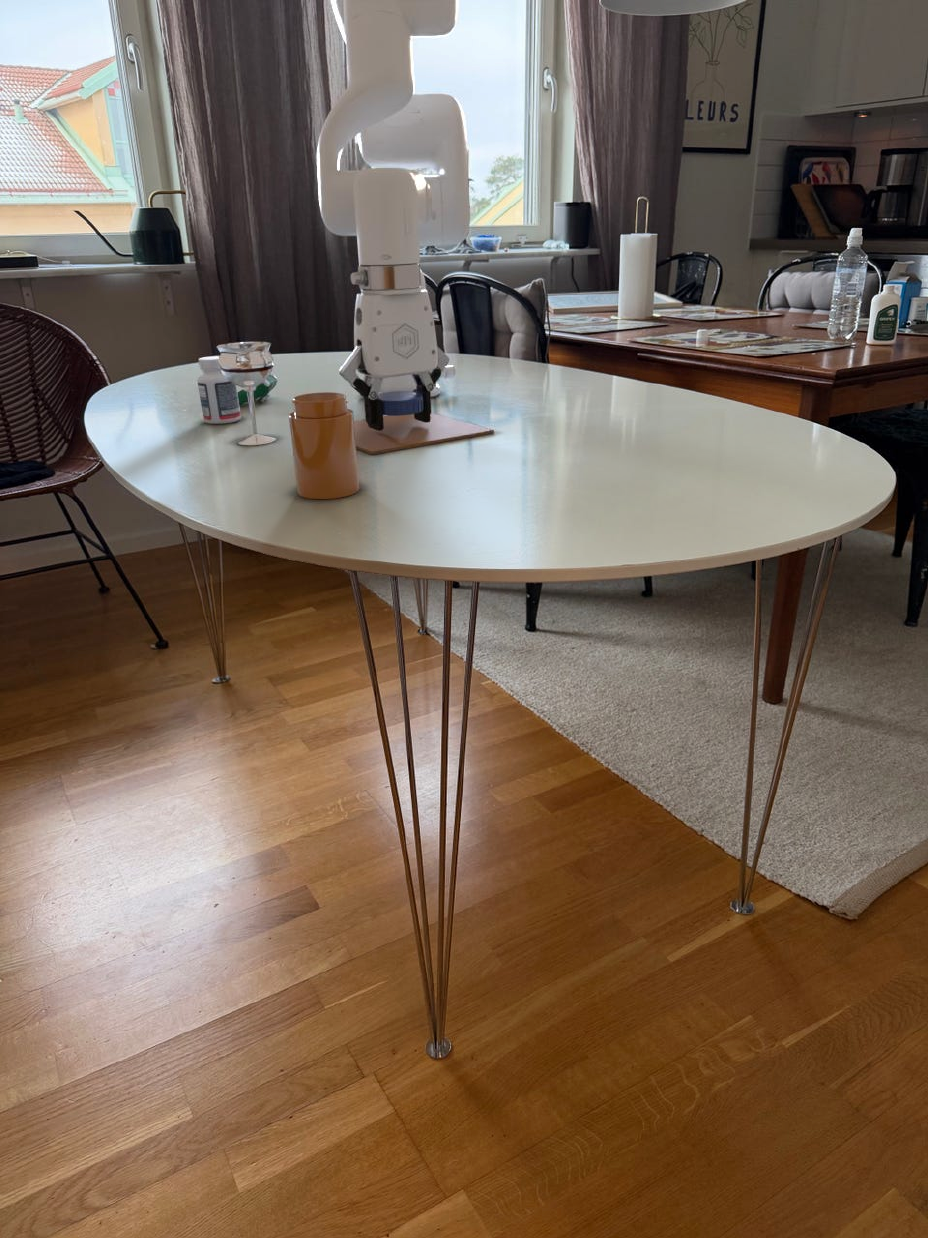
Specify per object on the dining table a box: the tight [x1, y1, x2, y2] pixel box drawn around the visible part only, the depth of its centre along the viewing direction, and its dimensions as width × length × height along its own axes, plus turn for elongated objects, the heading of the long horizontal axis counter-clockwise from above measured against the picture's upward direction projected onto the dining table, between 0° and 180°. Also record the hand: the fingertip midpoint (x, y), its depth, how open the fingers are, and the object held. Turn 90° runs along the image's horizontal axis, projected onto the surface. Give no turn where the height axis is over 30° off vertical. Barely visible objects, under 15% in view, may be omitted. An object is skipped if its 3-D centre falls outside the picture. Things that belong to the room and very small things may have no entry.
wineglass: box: [216, 341, 277, 446], centre depth 109 cm, size 7×7×12 cm
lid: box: [378, 391, 424, 416], centre depth 113 cm, size 7×7×2 cm
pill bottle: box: [196, 355, 242, 425], centre depth 122 cm, size 5×5×9 cm
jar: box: [288, 391, 361, 500], centre depth 87 cm, size 6×6×10 cm
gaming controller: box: [237, 372, 278, 407], centre depth 138 cm, size 9×4×6 cm
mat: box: [354, 412, 495, 455], centre depth 114 cm, size 18×18×1 cm
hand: (399, 423), depth 114 cm, fingers closed on lid, 6 cm apart
